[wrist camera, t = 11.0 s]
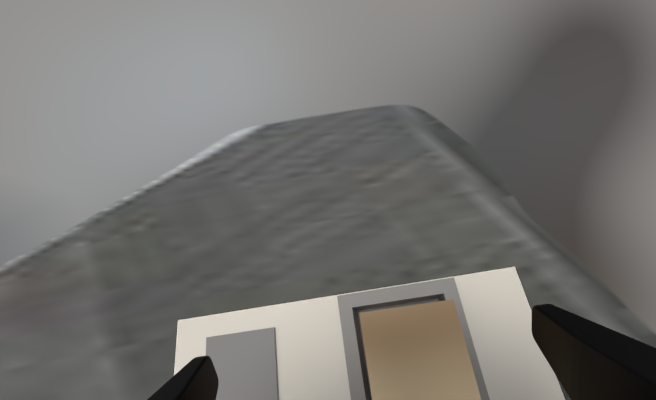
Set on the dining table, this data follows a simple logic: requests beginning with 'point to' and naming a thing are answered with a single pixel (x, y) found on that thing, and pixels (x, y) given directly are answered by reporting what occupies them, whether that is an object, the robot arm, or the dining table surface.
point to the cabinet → (348, 348)
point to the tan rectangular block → (417, 353)
